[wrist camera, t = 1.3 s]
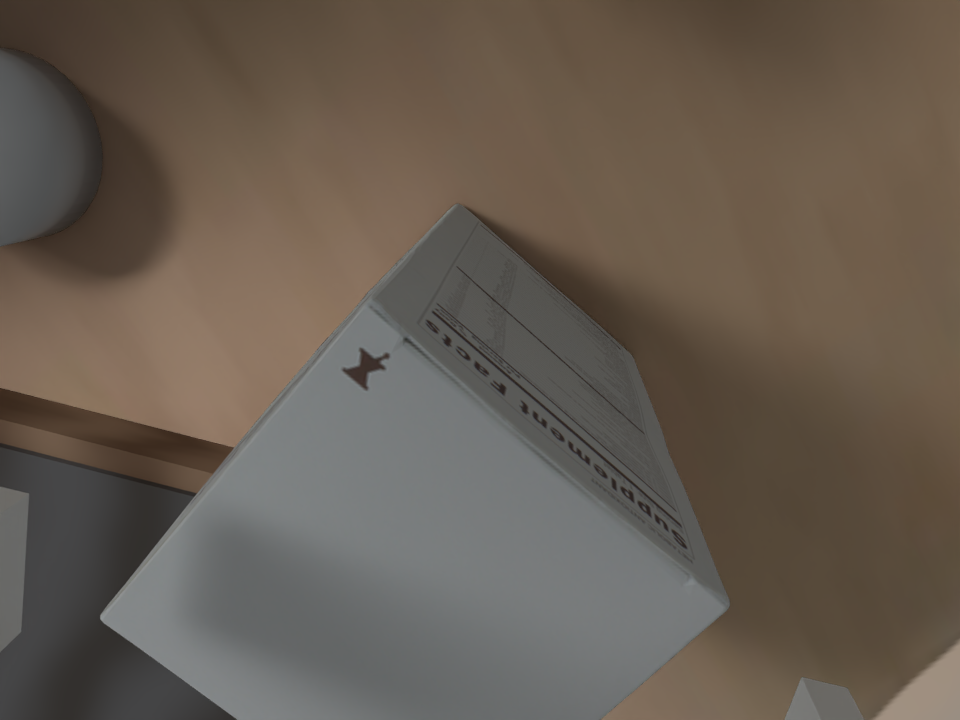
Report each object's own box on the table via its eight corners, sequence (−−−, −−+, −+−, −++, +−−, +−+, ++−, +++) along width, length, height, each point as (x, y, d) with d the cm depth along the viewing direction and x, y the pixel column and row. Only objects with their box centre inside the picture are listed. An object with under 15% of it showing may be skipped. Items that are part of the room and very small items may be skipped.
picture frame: (-44, 691, 38) (-88, 734, 36) (-27, 381, 34) (-76, 403, 31) (283, 776, 38) (263, 825, 35) (345, 476, 34) (327, 507, 31)
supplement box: (307, 370, 32) (69, 615, 16) (456, 194, 30) (349, 277, 14) (487, 518, 34) (431, 884, 17) (644, 361, 31) (748, 616, 15)
